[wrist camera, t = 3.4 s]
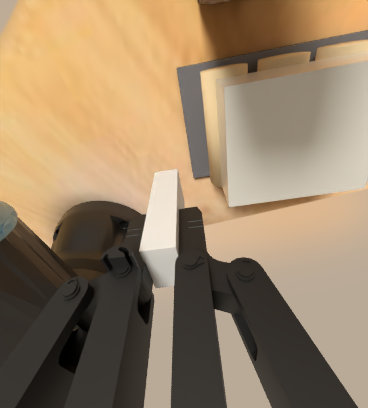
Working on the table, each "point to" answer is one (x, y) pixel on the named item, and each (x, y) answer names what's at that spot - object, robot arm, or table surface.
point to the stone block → (211, 1)
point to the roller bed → (197, 98)
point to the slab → (294, 130)
